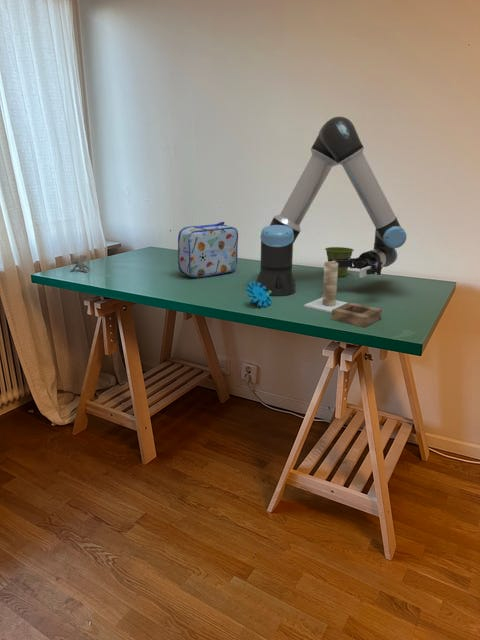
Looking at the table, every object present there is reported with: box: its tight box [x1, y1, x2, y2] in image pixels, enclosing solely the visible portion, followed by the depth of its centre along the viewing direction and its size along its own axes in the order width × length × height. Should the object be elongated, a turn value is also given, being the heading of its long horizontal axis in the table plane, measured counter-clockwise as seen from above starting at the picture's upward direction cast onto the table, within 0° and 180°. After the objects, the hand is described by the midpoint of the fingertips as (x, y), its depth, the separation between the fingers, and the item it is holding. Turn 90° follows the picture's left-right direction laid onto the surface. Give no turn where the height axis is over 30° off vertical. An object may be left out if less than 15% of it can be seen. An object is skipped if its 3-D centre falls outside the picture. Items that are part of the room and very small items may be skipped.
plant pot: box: [324, 246, 354, 278], centre depth 191 cm, size 12×12×11 cm
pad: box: [303, 296, 348, 314], centre depth 150 cm, size 12×12×1 cm
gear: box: [245, 281, 273, 308], centre depth 152 cm, size 11×6×10 cm
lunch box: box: [177, 221, 239, 278], centre depth 190 cm, size 28×10×22 cm, turn 129°
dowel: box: [322, 261, 339, 306], centre depth 148 cm, size 4×4×14 cm
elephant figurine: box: [70, 255, 91, 274], centre depth 196 cm, size 10×6×9 cm
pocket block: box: [330, 301, 383, 328], centre depth 137 cm, size 11×11×3 cm
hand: (342, 270), depth 151 cm, fingers open, 13 cm apart
